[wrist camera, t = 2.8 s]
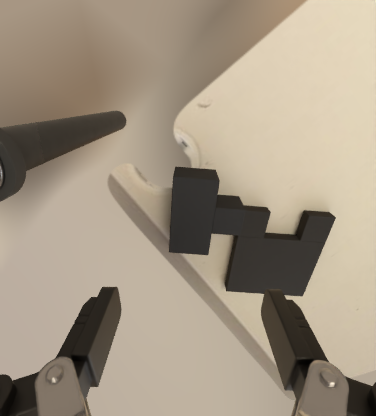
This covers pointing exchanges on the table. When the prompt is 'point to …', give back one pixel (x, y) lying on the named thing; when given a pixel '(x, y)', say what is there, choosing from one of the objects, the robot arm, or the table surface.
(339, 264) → the table surface
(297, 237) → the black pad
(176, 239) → the black t-shaped block
